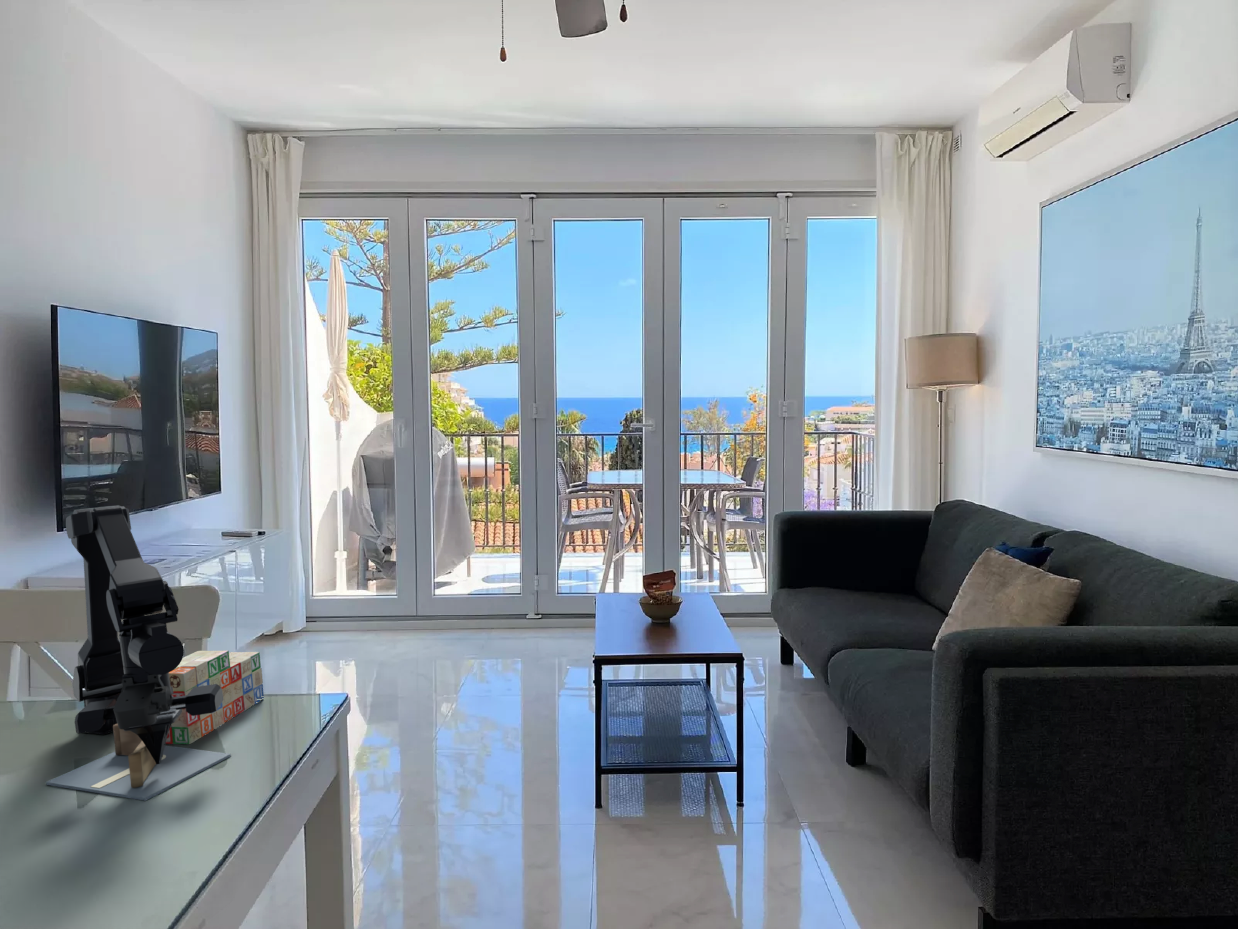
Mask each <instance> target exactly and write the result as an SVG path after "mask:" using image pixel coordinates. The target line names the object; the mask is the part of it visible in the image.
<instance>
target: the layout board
mask: <svg viewBox="0 0 1238 929" xmlns="http://www.w3.org/2000/svg"><path fill="white" fill-rule="evenodd" d="M230 757H232V754H231V753H227V752H219V751H211V750H203V749H198V748H197V749H195V748H189V747H182V746H181V747H180V746H173V745H167V744H165V747H164V751H163V757H162V759H161V763H160V764H156V765H155V766H154V767H153V769H152V770H151V772H150V773H149V775H148V776H147V778H146V779H145V781H144V782H143V783H144V784H143V785H142V786H140V787H136V788H132V787H131V781H130V770H129V760H128V755H116V753H115V751H113V752H110V753H109V754H106V755H104V756H101V757H100V758H97V759H94V760H92V761H90V762H88V763H86V764H84V765H82V766H79V767H77V768H75V769H73V770H70V771H68V772H66V773H63V774H61V775H59V776H57V777H54V778H52V779H49V780H48V781H45V784H46V786H47V785H48V786H52V787H58V788H65V789H71V790H78V791H83V792H89V793H96V794H101V795H109V796H113V797H115V796H116V797H119V798H127V799H133V800H139V801H144V802H145V801H148V800H150V799H151V798H153V797H156V796H157V795H159V794H161V793H163V792H165V791H168V790H169V789H171V788H173V787H174V786H177V785H178V784H181V783H182V782H185V781H187V780H188V779H190V778H192V777H194V776H196V775H197V774H200V773H202V772H203V771H205V770H208V769H209V768H211V767H213V766H215V765H217V764H220V763H221V762H222V761H225V760H226V759H229V758H230Z"/></svg>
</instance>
